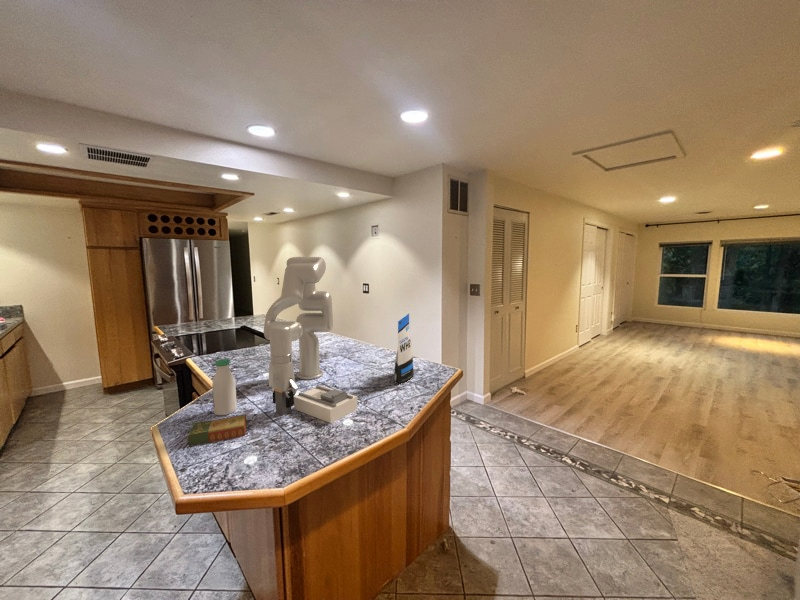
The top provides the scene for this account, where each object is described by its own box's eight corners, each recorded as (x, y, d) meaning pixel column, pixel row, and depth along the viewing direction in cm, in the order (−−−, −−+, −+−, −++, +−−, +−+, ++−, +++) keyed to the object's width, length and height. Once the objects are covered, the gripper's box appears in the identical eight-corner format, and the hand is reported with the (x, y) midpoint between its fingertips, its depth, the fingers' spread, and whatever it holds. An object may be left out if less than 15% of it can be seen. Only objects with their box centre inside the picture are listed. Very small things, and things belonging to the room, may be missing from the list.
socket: (294, 409, 127) (293, 394, 126) (321, 396, 138) (321, 383, 138) (330, 423, 116) (330, 407, 115) (357, 408, 127) (357, 394, 126)
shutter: (320, 400, 123) (320, 392, 122) (334, 393, 128) (334, 386, 128) (334, 404, 119) (333, 396, 118) (347, 398, 125) (347, 390, 124)
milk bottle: (241, 408, 127) (238, 358, 125) (225, 417, 120) (221, 364, 118) (226, 405, 130) (223, 356, 127) (209, 414, 122) (205, 362, 120)
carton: (245, 437, 107) (244, 424, 107) (188, 447, 101) (186, 434, 101) (246, 425, 115) (246, 413, 114) (193, 434, 109) (192, 422, 108)
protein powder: (388, 384, 152) (388, 321, 149) (400, 368, 175) (400, 313, 172) (408, 386, 150) (408, 322, 146) (417, 369, 173) (418, 313, 170)
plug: (274, 413, 123) (273, 386, 122) (285, 408, 127) (284, 382, 126) (282, 416, 121) (281, 388, 120) (292, 411, 125) (291, 385, 123)
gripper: (258, 357, 123) (260, 402, 125) (287, 365, 114) (289, 414, 116) (276, 352, 130) (277, 395, 132) (305, 359, 120) (306, 406, 122)
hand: (283, 403), depth 124 cm, fingers open, 7 cm apart
